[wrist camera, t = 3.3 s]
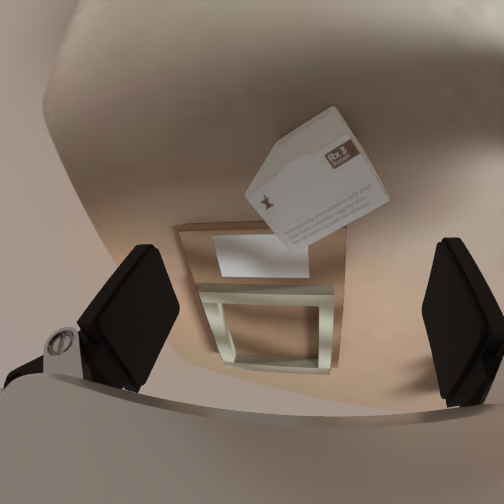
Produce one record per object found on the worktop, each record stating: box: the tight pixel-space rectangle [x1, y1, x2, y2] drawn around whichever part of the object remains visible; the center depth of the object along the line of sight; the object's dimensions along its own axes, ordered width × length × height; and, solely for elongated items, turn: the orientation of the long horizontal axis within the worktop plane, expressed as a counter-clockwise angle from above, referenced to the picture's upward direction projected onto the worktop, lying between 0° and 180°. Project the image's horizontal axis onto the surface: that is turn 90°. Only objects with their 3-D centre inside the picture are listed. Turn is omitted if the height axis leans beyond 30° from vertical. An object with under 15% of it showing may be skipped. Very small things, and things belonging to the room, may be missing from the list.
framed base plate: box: [179, 221, 346, 375], centre depth 34 cm, size 21×16×3 cm
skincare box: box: [244, 106, 390, 254], centre depth 19 cm, size 6×4×12 cm
